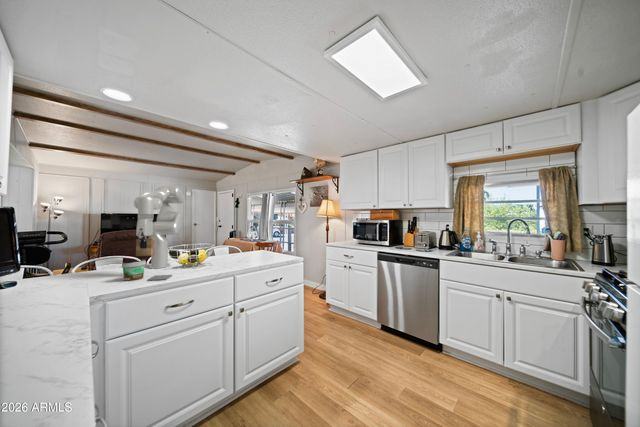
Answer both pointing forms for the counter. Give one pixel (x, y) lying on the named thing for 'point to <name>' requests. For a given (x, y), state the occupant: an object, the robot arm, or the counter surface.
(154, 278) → the mat
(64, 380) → the counter surface
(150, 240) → the tan cardboard box
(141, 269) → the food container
